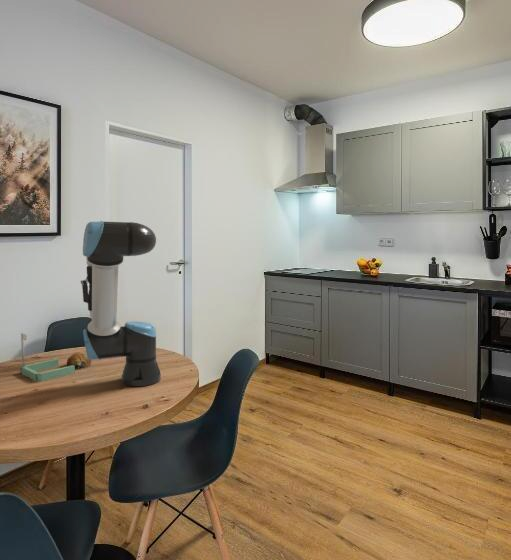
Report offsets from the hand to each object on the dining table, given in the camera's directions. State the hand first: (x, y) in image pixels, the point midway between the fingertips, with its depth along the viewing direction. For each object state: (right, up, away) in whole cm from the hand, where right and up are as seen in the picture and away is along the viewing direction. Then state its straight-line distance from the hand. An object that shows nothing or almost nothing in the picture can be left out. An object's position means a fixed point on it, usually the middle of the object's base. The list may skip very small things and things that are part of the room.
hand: (96, 316), depth 188 cm
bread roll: (-6, -22, -5) cm, 23 cm away
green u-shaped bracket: (-14, -22, -15) cm, 30 cm away
